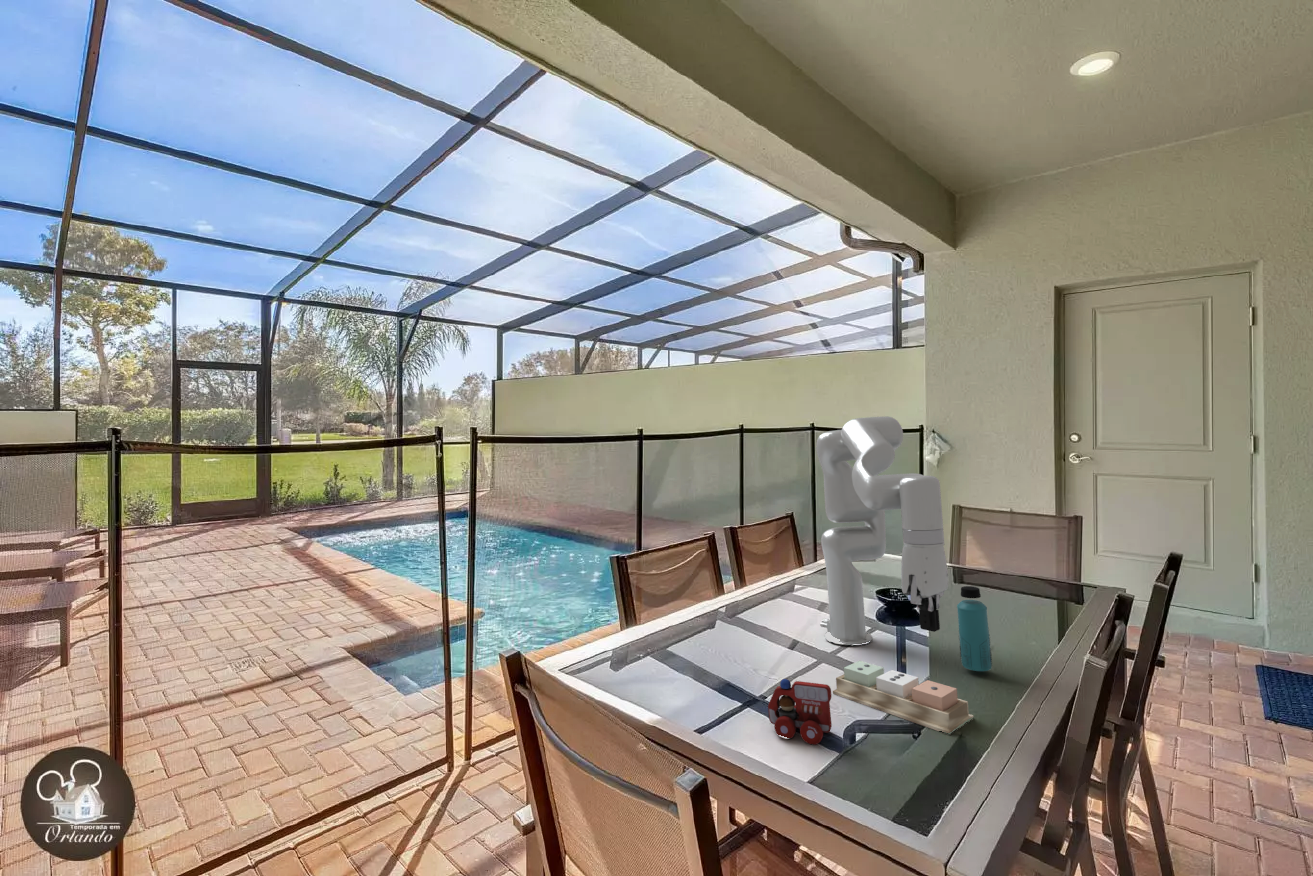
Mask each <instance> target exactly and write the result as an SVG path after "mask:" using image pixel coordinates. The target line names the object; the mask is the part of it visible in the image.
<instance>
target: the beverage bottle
mask: <svg viewBox="0 0 1313 876" xmlns="http://www.w3.org/2000/svg"><path fill="white" fill-rule="evenodd" d="M960 596H961V598H965V599H962V600H961V601H959V603H958V604H957V605H956V608H957V620H958V638H959V654H960V656H959V657H960V661H961V665H962V666H963V668H965V669H967V670H970V671H974V672H975V671H976V672H988V671H991V670H992V666H993V662H992V658H993V657H992V649H991V636H990V629H989V621H988V607H987V606H986V605H985V604H984V603H983V602H982V601H981V600H977V599H979V598H981V597H982V596H981V591H980V588H979V587H977V586H969V585H967V586H961V587H960Z"/></svg>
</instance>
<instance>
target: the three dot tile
mask: <svg viewBox="0 0 1313 876" xmlns="http://www.w3.org/2000/svg"><path fill="white" fill-rule="evenodd" d="M919 683H920V682H919V676H915V675H911V674H908V673H904V672H901V671H897V670H894V669H891V670H889V671H886V672H884V674H882V675H880V676H878V677H876V685H877V690H878V691H881V692H884V693H887V694H890V695H893V696H896V697H899V698H902V699H905V698H907V697H909V696H911V695H912V688H914V687H916V686H918V685H919Z"/></svg>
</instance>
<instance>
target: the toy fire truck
mask: <svg viewBox="0 0 1313 876" xmlns="http://www.w3.org/2000/svg"><path fill="white" fill-rule="evenodd" d="M779 684H780V685H778V686H777V687H776V688H775V689H774V691H773V693H772V696H771V698H770V700H769V702H768V705H767V709H768V710H767V711H768V720H769V722H770V723H771V724H772V725H774V726H773V727H774V731H775V733H776V735H777V734H778V735H781V736H784V737H787V738H791V739H792V738H793V737H794V736H795V735H796V732H797V729H799V734H800V737H801V738H802V740H803V741H804V742H805V743H807V744H809V745H811V744H813V745H812V746H815V745H818V744H820V743H821V741H822V739H823V737H824V733H826V734H827V733H830V731H831V729H832V725H833V724H832V716H831V705H830V702H831V699H832V688H831V686H830V685H829V684H824V683H818V682H817V683H816V682H809V681H808V682H807V681H799V680H796V681H794V682H793V683H792V684H791V680H790V679H789V678H783V679H781V680H780V683H779ZM778 735H777V736H778Z"/></svg>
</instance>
